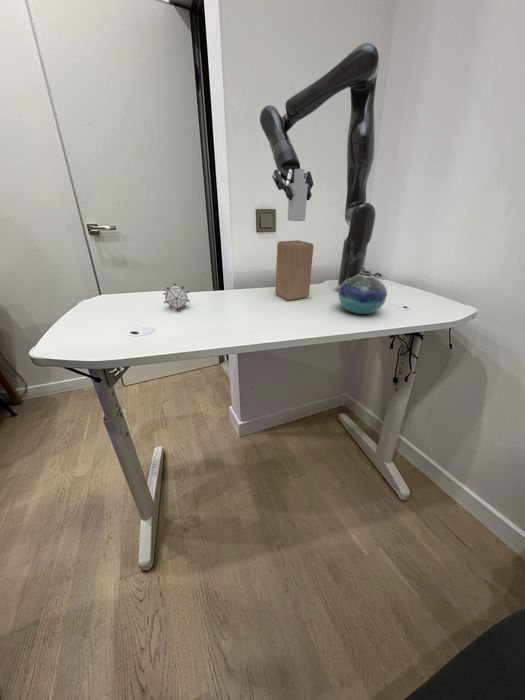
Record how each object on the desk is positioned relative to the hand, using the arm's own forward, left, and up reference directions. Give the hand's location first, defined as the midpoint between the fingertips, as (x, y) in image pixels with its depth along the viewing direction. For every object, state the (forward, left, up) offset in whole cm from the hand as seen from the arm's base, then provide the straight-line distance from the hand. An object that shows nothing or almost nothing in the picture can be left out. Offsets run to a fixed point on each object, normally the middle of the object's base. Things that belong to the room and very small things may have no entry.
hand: (300, 198), depth 96 cm
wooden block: (-1, -2, -34) cm, 34 cm away
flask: (0, -2, -7) cm, 7 cm away
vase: (-11, +23, -34) cm, 43 cm away
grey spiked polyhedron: (+42, -9, -34) cm, 55 cm away
